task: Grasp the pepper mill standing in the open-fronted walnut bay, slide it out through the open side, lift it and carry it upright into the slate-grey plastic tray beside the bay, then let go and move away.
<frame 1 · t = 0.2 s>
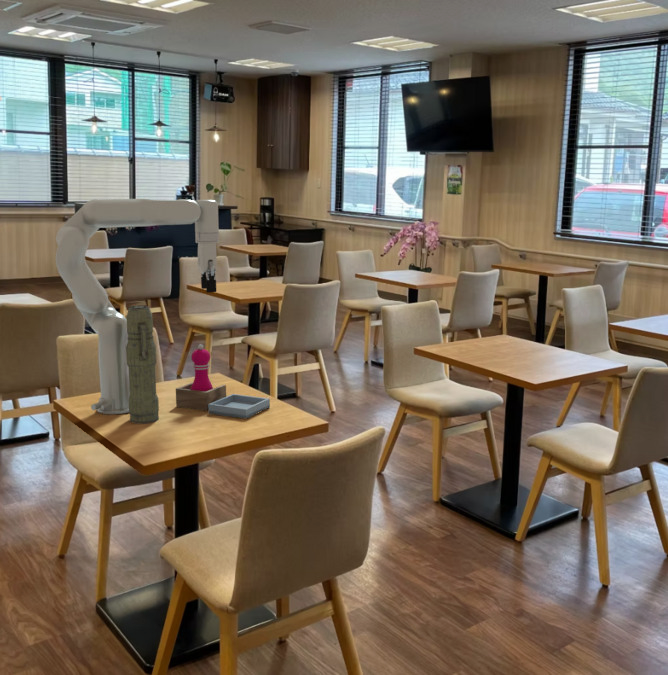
hand: (208, 290, 265), 36 cm above the table, tool pointing down, fingers open, 9 cm apart
pepper mill: (202, 404, 263), on the table
olive piece: (144, 420, 247), on the table
walnut bay: (202, 404, 263), on the table
slate tray: (239, 410, 256), on the table
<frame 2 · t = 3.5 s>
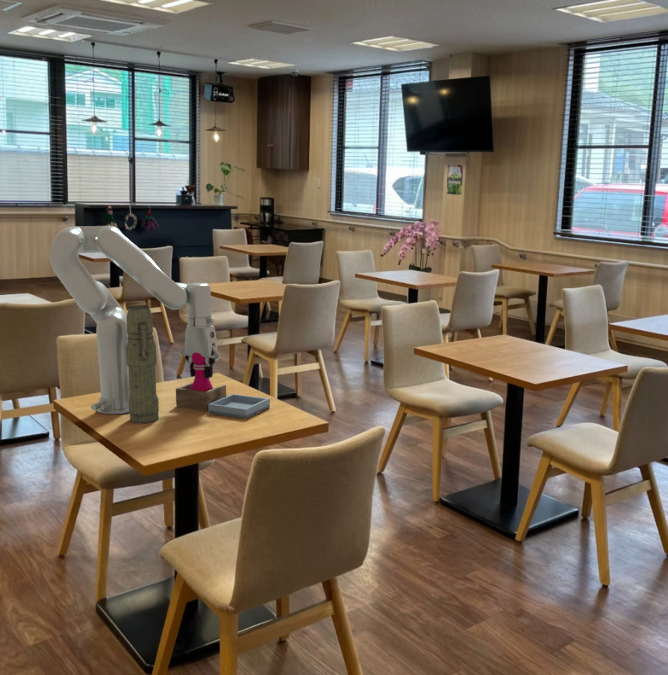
hand: (201, 376, 262), 9 cm above the table, tool pointing down, fingers closed on pepper mill, 5 cm apart
pepper mill: (202, 404, 263), on the table, touching gripper
everything else where it was.
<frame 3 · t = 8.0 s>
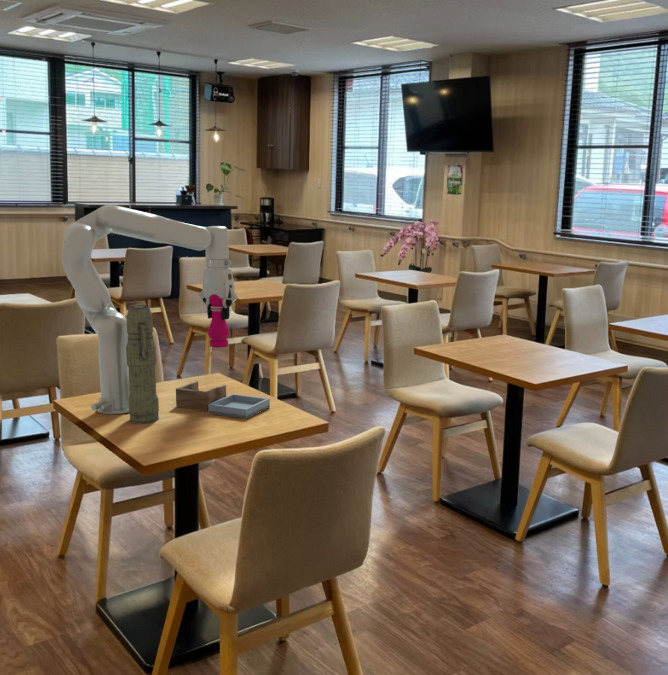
hand: (218, 318, 268), 27 cm above the table, tool pointing down, fingers closed on pepper mill, 5 cm apart
pepper mill: (219, 346, 270), point 17 cm above the table, touching gripper
everything else where it was.
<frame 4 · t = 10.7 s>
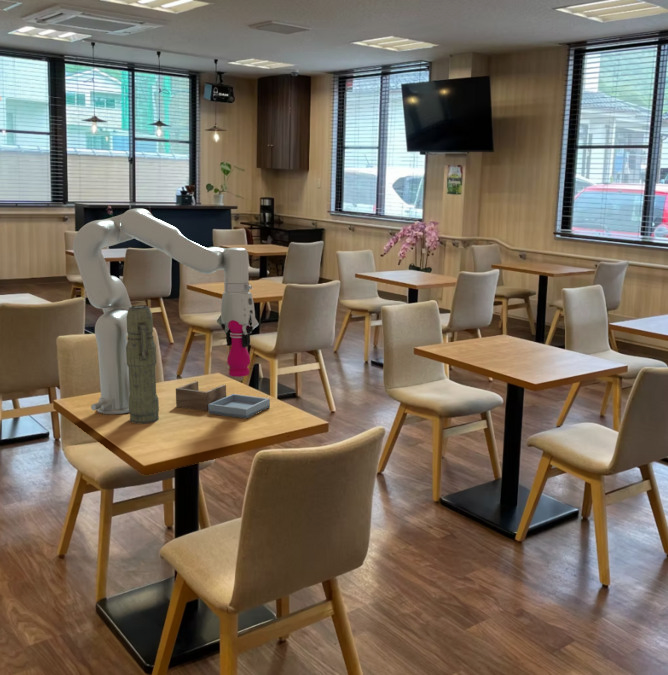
hand: (238, 345, 252), 21 cm above the table, tool pointing down, fingers closed on pepper mill, 5 cm apart
pepper mill: (239, 375, 254), point 12 cm above the table, touching gripper
everything else where it was.
when the fingers open (12 cm above the table, at t = 12.7 s): pepper mill drops 1 cm, resting on slate tray.
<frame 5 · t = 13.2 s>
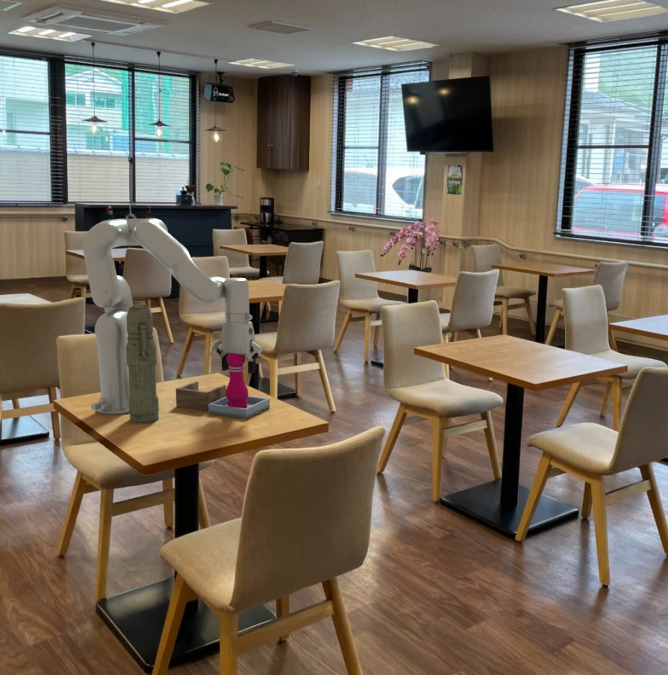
hand: (238, 371, 254), 13 cm above the table, tool pointing down, fingers open, 9 cm apart
pepper mill: (237, 407, 256), point 1 cm above the table, touching slate tray
everything else where it was.
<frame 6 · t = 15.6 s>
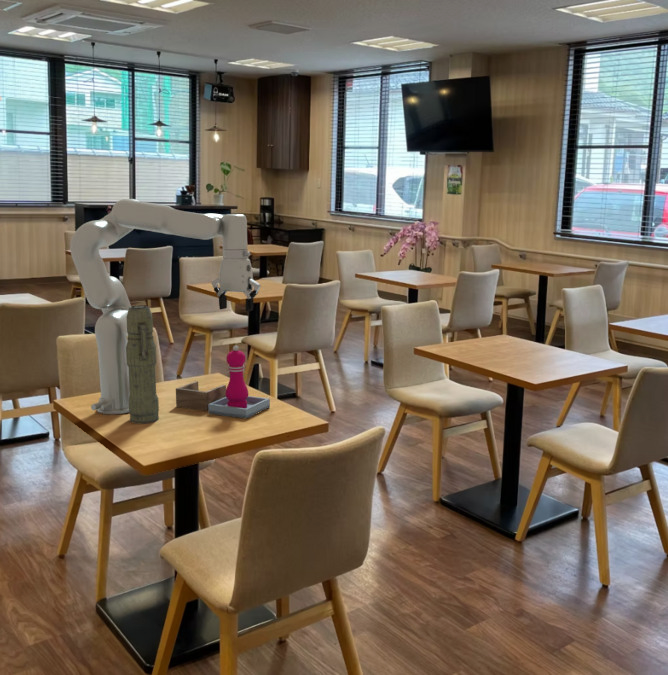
hand: (236, 309, 250), 32 cm above the table, tool pointing down, fingers open, 9 cm apart
nothing on the table moved.
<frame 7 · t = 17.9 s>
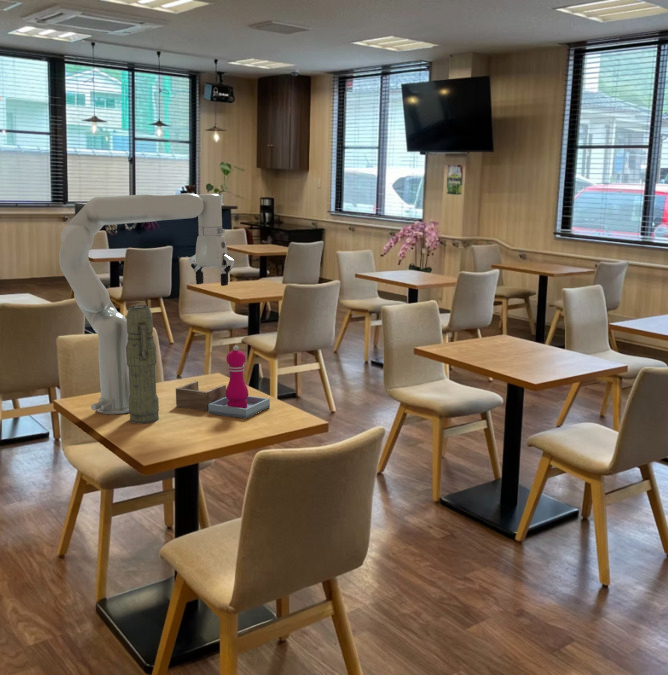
hand: (212, 284, 264), 38 cm above the table, tool pointing down, fingers open, 9 cm apart
nothing on the table moved.
at the end: pepper mill inside the target area on the slate tray (0.8 cm from its centre), point 0.8 cm above the slate tray's base; pepper mill tilted 0°; the gripper is holding nothing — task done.
